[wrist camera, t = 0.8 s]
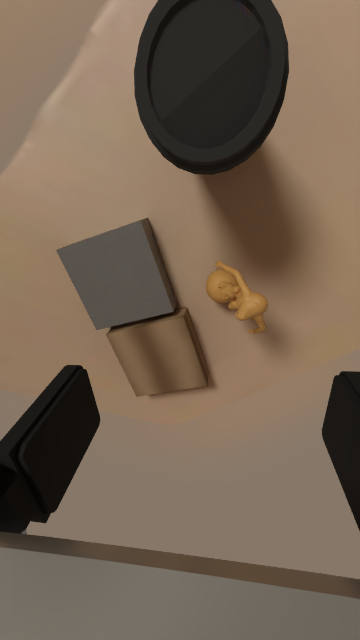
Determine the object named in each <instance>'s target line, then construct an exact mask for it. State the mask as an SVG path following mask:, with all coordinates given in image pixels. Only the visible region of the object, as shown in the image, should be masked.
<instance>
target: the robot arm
mask: <svg viewBox="0 0 360 640" xmlns="http://www.w3.org/2000/svg"><path fill="white" fill-rule="evenodd" d="M99 423H100V415H99V412H98V408H97V405H96V401H95V398H94V394H93V391H92V387H91V384H90V380H89V377H88V373H87V371H86V369H83V367H82V366H80V365H66V366H65V367H64V368H63V369H62V370H61V371H60V372H59V373H58V375H57V376H56V377H55V378H54V379H53V380H52V382H51V383H50V384H49V385H48V386H47V387H46V389H45V390H44V391H43V392H42V393H41V394H40V396H39V397H38V398H37V399H36V400H35V401H34V403H33V404H32V405H31V406H30V407H29V409H28V410H27V411H26V412H25V413H24V414H23V415H22V417H21V418H20V419H19V420H18V421H17V422H16V424H15V425H14V426H13V427H12V428H11V429H10V431H9V432H8V433H7V434H6V435H5V436H4V438H3V439H2V440H1V441H0V640H360V579H353V578H347V577H341V576H334V575H327V574H321V573H314V572H307V571H300V570H292V569H285V568H278V567H271V566H264V565H256V564H249V563H242V562H235V561H228V560H220V559H213V558H206V557H198V556H190V555H184V554H176V553H169V552H161V551H153V550H146V549H138V548H131V547H123V546H116V545H108V544H100V543H91V542H84V541H76V540H69V539H61V538H53V537H45V536H36V535H27V533H26V528H27V526H28V524H29V522H30V521H33V522H41V523H46V522H47V520H48V518H49V516H50V514H51V513H53V512H55V511H56V509H57V508H58V506H59V504H60V502H61V500H62V498H63V496H64V494H65V492H66V490H67V488H68V486H69V484H70V482H71V480H72V478H73V476H74V474H75V472H76V470H77V468H78V466H79V464H80V462H81V460H82V458H83V456H84V454H85V452H86V451H87V449H88V446H89V445H90V443H91V441H92V439H93V437H94V435H95V433H96V431H97V429H98V427H99ZM322 436H323V440H324V443H325V445H326V448H327V450H328V453H329V455H330V458H331V460H332V463H333V465H334V468H335V470H336V473H337V475H338V478H339V480H340V483H341V485H342V488H343V490H344V492H345V495H346V498H347V500H348V503H349V505H350V508H351V510H352V513H353V515H354V518H355V520H356V523H357V525H358V528H359V530H360V372H348V371H346V372H345V371H343V372H341V373H340V374H339V375H336V376H335V377H334V380H333V384H332V389H331V393H330V397H329V401H328V406H327V410H326V415H325V419H324V423H323V428H322Z"/></svg>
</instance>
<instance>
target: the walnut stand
mask: <svg viewBox="0 0 360 640" xmlns="http://www.w3.org/2000/svg"><path fill="white" fill-rule="evenodd" d="M106 336H107V338H108V340H109V342H110V344H111V346H112V348H113V350H114V352H115V354H116V356H117V358H118V360H119V362H120V364H121V366H122V368H123V370H124V372H125V374H126V376H127V378H128V380H129V382H130V384H131V386H132V388H133V390H134V392H135V394H136V396H137V397H138V396H144V395H151V394H157V393H164V392H170V391H177V390H183V389H190V388H197V387H203V386H207V385H208V373H209V372H208V369H207V366H206V363H205V360H204V357H203V354H202V352H201V349H200V346H199V343H198V340H197V337H196V334H195V331H194V328H193V325H192V322H191V319H190V316H189V313H188V310H187V307H185V308H181V309H177V310H174V312H170V313H166V314H162V315H158V316H153V317H149V318H145V319H141V320H137V321H132V322H128V323H124V324H120V325H116V326H113V327H112V328H111V329H110V331H109V332H108V333H107V334H106Z"/></svg>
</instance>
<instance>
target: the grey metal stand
mask: <svg viewBox="0 0 360 640" xmlns="http://www.w3.org/2000/svg"><path fill="white" fill-rule="evenodd" d="M56 251H57V253H58V255H59V257H60V259H61V261H62V263H63V265H64V267H65V269H66V271H67V273H68V275H69V277H70V279H71V281H72V282H73V284H74V286H75V288H76V290H77V292H78V294H79V296H80V298H81V300H82V302H83V304H84V306H85V308H86V310H87V312H88V314H89V316H90V318H91V320H92V322H93V324H94V326H95V328H96V330H99V329H103V328H107V327H111V326H116V325H120V324H124V323H128V322H132V321H137V320H141V319H145V318H149V317H153V316H158V315H162V314H166V313H170V312H174V309H175V307H176V304H177V300H176V297H175V294H174V292H173V289H172V286H171V283H170V280H169V277H168V274H167V271H166V269H165V266H164V263H163V260H162V257H161V254H160V251H159V249H158V246H157V243H156V240H155V237H154V234H153V231H152V228H151V226H150V223H149V220H148V218H146V219H143V220H140V221H137V222H134V223H131V224H128V225H125V226H123V227H120V228H117V229H114V230H111V231H108V232H105V233H102V234H99V235H97V236H94V237H91V238H88V239H85V240H82V241H79V242H76V243H74V244H71V245H68V246H65V247H63V248H60V249H58V250H56Z"/></svg>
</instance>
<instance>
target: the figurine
mask: <svg viewBox="0 0 360 640" xmlns="http://www.w3.org/2000/svg"><path fill="white" fill-rule="evenodd" d="M216 264H217V265H215V266H218V267H217V268H216V269H218V268H219V267H221V268H223V269H219V270H216V271H214V272H213V273H212V274H211V275H210V276H209V277H208V279H207V282H206V290H207V293H208V295H209V297H210V298H211V299H212V300H214V301H216V302H219V303H227V302H230V301H231V302H230V304H229V305H228V308H229V309H231V310H232V309H238V311H237V312H236V317H237V319H238V320H246V319H249V318H250V319H253V320H255V321H256V322H257V325H258V326H259V328H256V329H254V330H252V331H250V330H247V331H249V332H251V333H258V332H263V331H265V329H266V327H265V324H264V321H263V313H264V312H265V311H266V310H267V306H268V303H267V300H266V298H265V297H264V296H263V295H262V294H259V293H256V292H252V291H251V290H250V289H249V288H248V286H247V284H246V283H245V281H244V279H243V277H242V276H241V274H240V273H239V272H238V271H237V270H235V269H233V268H231V267H229V266H227V265H224V264H223V263H222V262H221V261H218V262H216Z"/></svg>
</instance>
